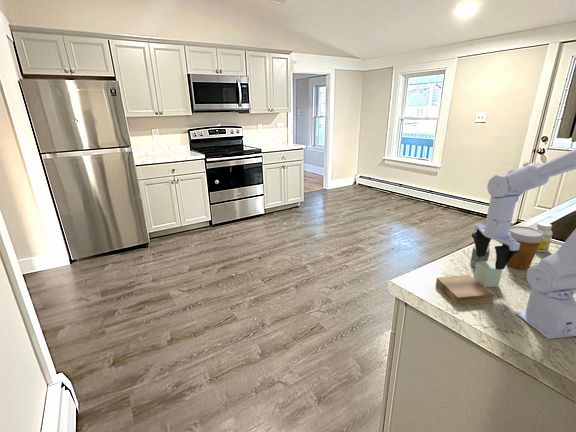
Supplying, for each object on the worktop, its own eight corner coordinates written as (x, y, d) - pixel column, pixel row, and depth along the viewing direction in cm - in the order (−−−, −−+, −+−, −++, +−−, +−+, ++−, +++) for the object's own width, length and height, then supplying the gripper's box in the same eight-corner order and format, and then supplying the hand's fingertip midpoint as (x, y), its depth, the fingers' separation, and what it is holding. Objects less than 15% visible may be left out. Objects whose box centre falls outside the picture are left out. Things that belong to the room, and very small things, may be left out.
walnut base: (492, 302, 81) (493, 294, 81) (456, 305, 81) (458, 297, 80) (467, 282, 91) (468, 274, 90) (435, 285, 90) (436, 277, 89)
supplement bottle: (549, 253, 106) (556, 228, 102) (530, 250, 108) (536, 225, 105) (545, 247, 110) (552, 222, 107) (527, 245, 112) (533, 220, 109)
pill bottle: (489, 269, 97) (494, 245, 95) (472, 268, 98) (477, 244, 96) (483, 262, 102) (487, 239, 99) (467, 261, 103) (472, 238, 100)
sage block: (498, 286, 88) (502, 268, 86) (483, 287, 88) (487, 269, 86) (487, 278, 93) (490, 260, 91) (473, 279, 92) (476, 261, 90)
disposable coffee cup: (541, 267, 97) (550, 232, 93) (525, 275, 93) (535, 239, 89) (509, 255, 105) (516, 223, 101) (493, 262, 101) (500, 229, 97)
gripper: (535, 226, 77) (523, 273, 82) (493, 209, 91) (484, 250, 95) (509, 228, 76) (498, 276, 81) (471, 210, 90) (463, 251, 95)
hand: (489, 262), depth 88 cm, fingers open, 7 cm apart
